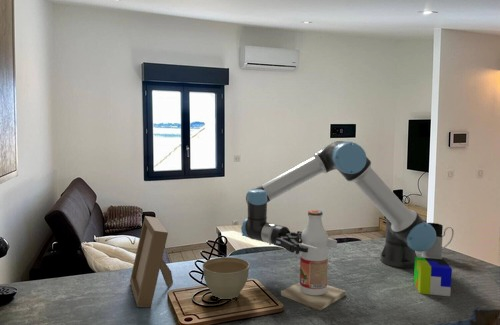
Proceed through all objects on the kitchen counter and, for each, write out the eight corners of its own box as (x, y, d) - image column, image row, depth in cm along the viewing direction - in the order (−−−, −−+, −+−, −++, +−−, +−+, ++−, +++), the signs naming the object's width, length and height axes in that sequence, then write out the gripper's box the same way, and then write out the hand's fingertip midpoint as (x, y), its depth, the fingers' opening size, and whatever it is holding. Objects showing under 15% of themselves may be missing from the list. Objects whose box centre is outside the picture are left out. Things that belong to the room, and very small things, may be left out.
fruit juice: (322, 298, 127) (325, 215, 125) (295, 292, 132) (297, 212, 130) (329, 288, 136) (332, 210, 134) (304, 283, 140) (306, 207, 138)
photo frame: (137, 309, 121) (136, 232, 119) (129, 283, 141) (128, 217, 139) (183, 301, 127) (183, 228, 125) (170, 278, 147) (169, 214, 145)
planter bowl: (255, 289, 138) (255, 259, 137) (239, 308, 123) (239, 275, 122) (214, 282, 143) (214, 254, 142) (194, 300, 128) (194, 269, 127)
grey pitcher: (417, 253, 180) (419, 222, 179) (445, 253, 182) (447, 222, 180) (428, 260, 171) (430, 227, 170) (457, 259, 173) (459, 226, 172)
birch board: (307, 282, 145) (307, 278, 145) (345, 295, 134) (345, 290, 134) (280, 295, 133) (280, 291, 133) (320, 310, 122) (320, 306, 122)
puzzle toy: (450, 296, 135) (451, 268, 134) (419, 293, 137) (421, 266, 136) (442, 285, 144) (443, 259, 143) (413, 282, 146) (415, 257, 145)
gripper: (294, 238, 153) (344, 250, 138) (255, 251, 135) (306, 267, 120) (295, 219, 152) (344, 230, 137) (255, 231, 135) (307, 244, 120)
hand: (327, 248), depth 129 cm, fingers open, 11 cm apart
